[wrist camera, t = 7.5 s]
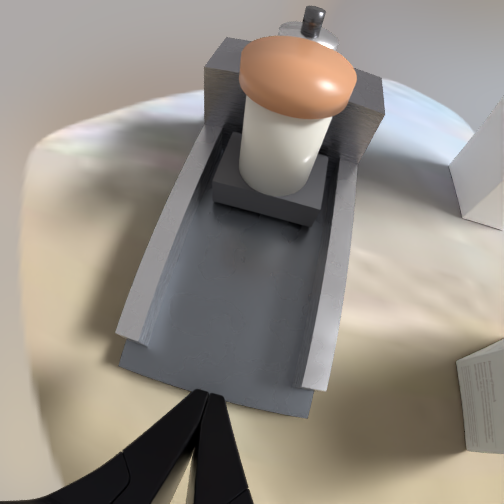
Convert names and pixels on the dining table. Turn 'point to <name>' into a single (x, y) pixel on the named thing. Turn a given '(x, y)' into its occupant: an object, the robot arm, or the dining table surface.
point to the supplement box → (483, 398)
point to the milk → (482, 172)
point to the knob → (283, 128)
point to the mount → (247, 266)
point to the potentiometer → (311, 28)
